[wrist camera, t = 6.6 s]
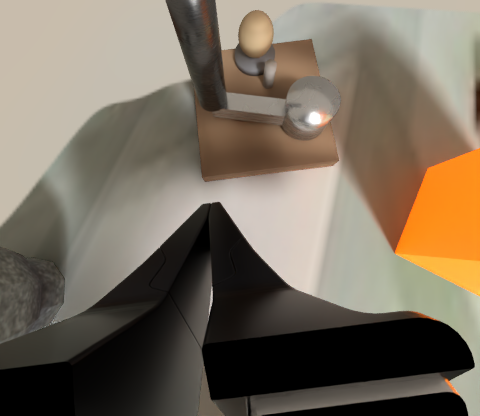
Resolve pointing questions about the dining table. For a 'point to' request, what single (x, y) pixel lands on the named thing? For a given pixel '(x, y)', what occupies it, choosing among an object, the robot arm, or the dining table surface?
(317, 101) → the lever
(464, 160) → the orange juice
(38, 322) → the mortar and pestle
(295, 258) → the dining table surface
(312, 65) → the base
